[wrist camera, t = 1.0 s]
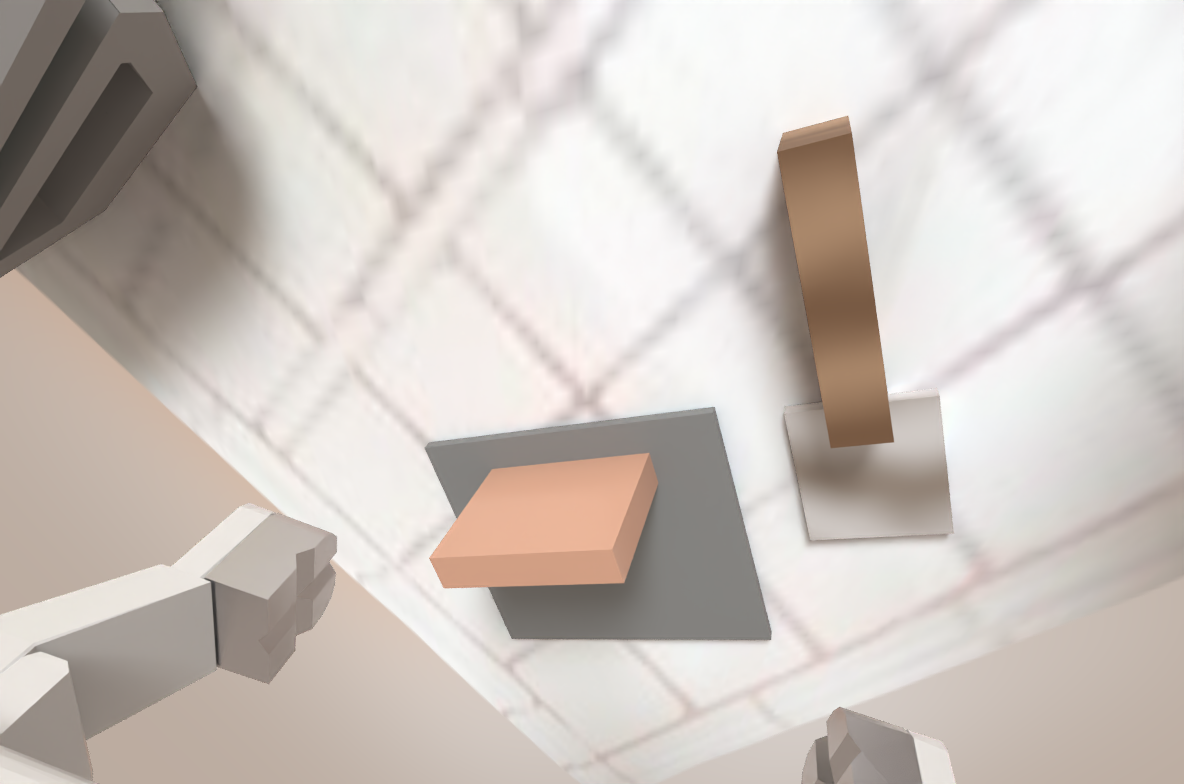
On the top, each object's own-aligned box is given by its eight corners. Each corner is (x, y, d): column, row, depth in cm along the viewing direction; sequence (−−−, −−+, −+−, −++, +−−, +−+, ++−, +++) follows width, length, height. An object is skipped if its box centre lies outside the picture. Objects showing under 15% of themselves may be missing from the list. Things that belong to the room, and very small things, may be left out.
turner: (731, 146, 30) (718, 167, 26) (906, 99, 27) (919, 115, 24) (810, 530, 38) (809, 587, 35) (951, 523, 36) (965, 583, 32)
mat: (714, 407, 36) (712, 412, 36) (771, 632, 43) (770, 639, 42) (429, 442, 43) (424, 447, 43) (514, 632, 49) (511, 638, 49)
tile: (649, 452, 38) (612, 549, 31) (659, 484, 39) (625, 585, 32) (492, 469, 42) (429, 558, 35) (504, 498, 43) (444, 590, 36)
